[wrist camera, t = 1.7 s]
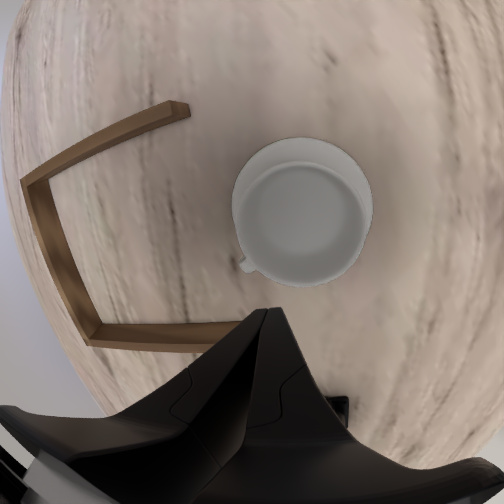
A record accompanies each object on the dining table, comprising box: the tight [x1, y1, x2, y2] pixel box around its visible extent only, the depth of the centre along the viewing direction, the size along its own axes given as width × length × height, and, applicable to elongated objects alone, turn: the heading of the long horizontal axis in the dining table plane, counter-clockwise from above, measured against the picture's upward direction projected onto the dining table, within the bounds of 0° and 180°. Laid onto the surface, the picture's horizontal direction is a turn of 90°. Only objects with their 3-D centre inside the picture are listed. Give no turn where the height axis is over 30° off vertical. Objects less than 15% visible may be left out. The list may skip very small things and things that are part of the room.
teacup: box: [231, 137, 373, 287], centre depth 18 cm, size 10×10×5 cm
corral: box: [20, 100, 241, 353], centre depth 22 cm, size 19×18×3 cm
